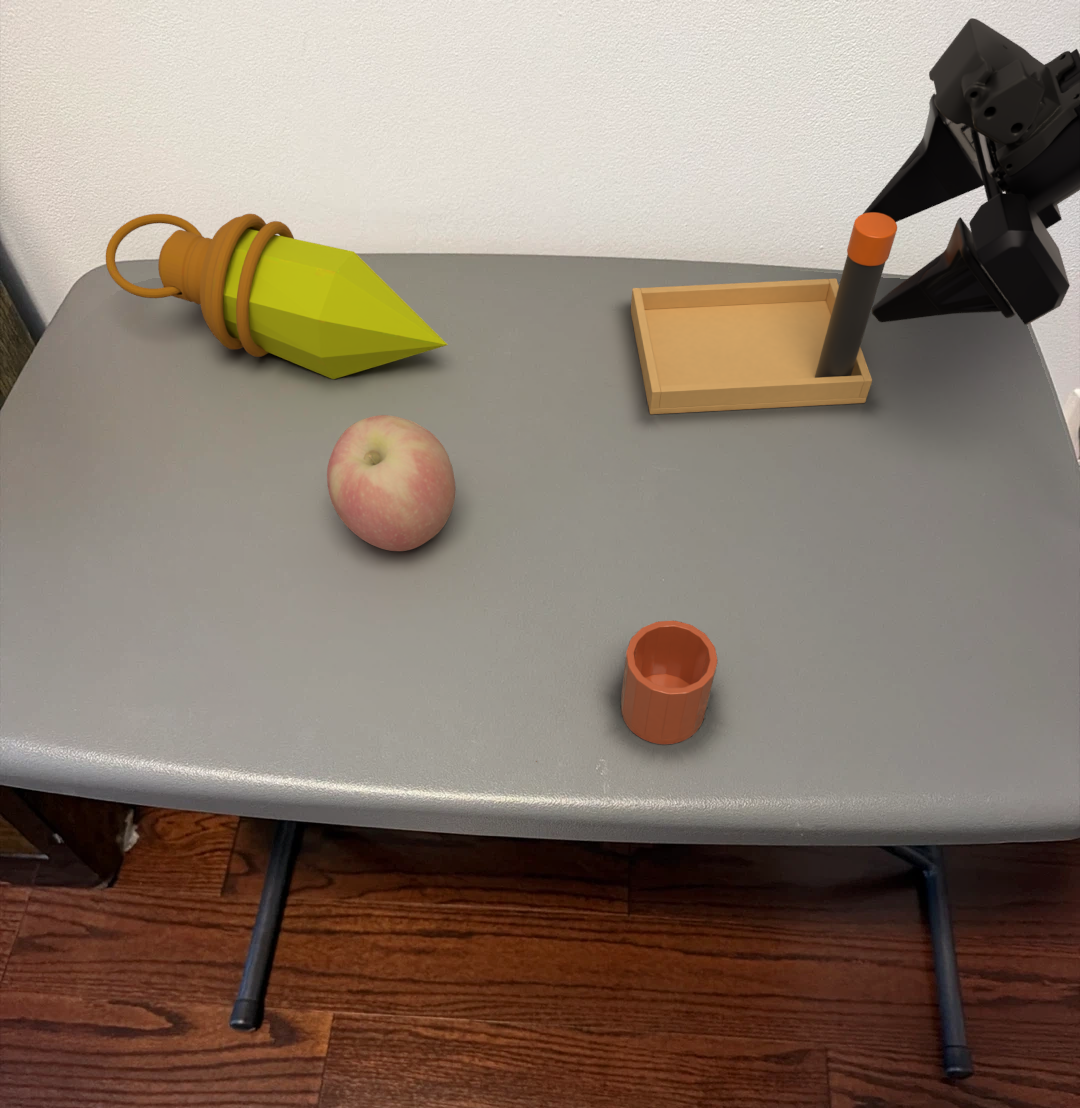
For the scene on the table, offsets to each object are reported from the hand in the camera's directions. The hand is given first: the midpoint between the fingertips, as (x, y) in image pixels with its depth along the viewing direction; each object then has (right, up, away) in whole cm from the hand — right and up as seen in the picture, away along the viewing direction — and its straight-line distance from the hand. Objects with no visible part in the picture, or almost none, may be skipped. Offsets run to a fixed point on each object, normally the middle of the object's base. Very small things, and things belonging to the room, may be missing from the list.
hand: (868, 269), depth 68 cm
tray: (-6, -2, +10) cm, 12 cm away
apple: (-30, -17, +1) cm, 34 cm away
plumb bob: (-39, -1, +11) cm, 41 cm away
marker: (0, -5, +8) cm, 9 cm away
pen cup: (-14, -28, -6) cm, 32 cm away
